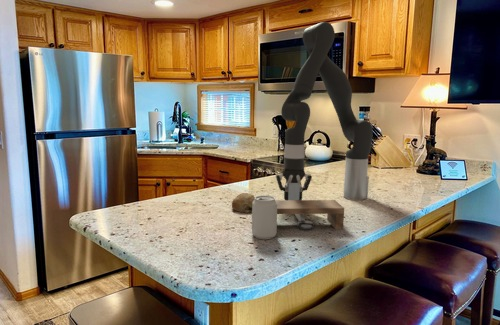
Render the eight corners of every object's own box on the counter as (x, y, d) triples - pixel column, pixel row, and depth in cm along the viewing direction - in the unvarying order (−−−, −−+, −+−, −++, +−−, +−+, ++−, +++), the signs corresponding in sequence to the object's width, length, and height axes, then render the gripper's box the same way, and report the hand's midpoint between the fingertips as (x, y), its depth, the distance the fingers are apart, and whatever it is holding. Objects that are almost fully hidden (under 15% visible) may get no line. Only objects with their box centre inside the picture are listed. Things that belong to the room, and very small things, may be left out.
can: (250, 231, 114) (251, 194, 113) (274, 231, 115) (275, 194, 113) (252, 240, 107) (253, 200, 105) (278, 240, 108) (279, 200, 106)
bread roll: (236, 222, 135) (240, 205, 131) (226, 204, 143) (229, 188, 139) (259, 218, 140) (264, 202, 136) (248, 201, 147) (253, 185, 143)
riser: (333, 219, 128) (334, 200, 127) (343, 229, 118) (344, 208, 117) (265, 220, 126) (265, 200, 125) (268, 230, 116) (269, 208, 115)
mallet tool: (296, 206, 142) (297, 181, 140) (308, 224, 121) (309, 194, 119) (286, 206, 142) (287, 181, 140) (296, 224, 121) (297, 194, 119)
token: (311, 225, 121) (311, 220, 121) (315, 230, 116) (315, 225, 116) (296, 225, 121) (296, 220, 121) (299, 231, 116) (299, 225, 116)
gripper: (310, 155, 141) (309, 198, 143) (274, 154, 140) (273, 198, 142) (315, 157, 133) (313, 203, 136) (276, 157, 132) (275, 203, 135)
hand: (292, 200), depth 139 cm, fingers closed on mallet tool, 4 cm apart
